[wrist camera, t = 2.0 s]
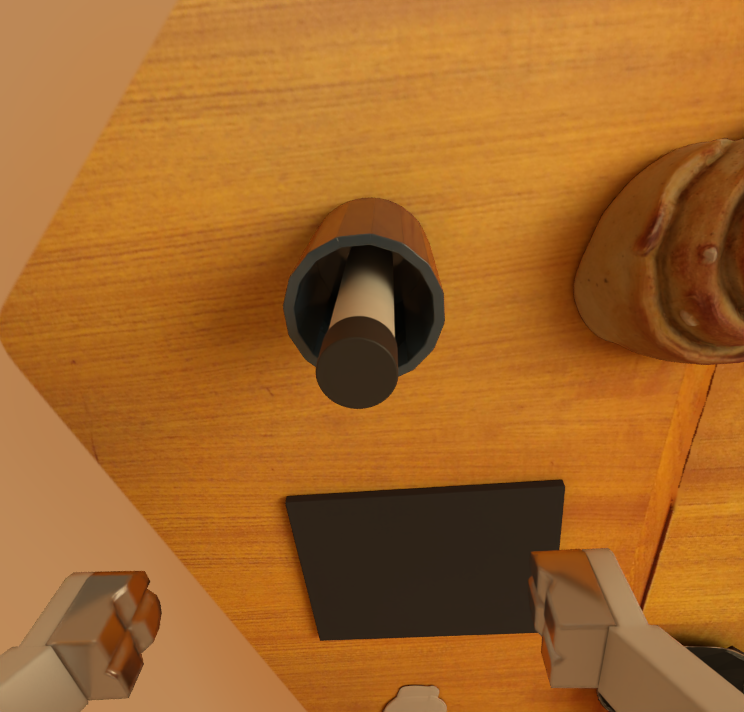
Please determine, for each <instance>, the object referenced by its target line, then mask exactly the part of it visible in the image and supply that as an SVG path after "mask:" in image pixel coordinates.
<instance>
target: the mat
mask: <svg viewBox="0 0 744 712" xmlns="http://www.w3.org/2000/svg"><path fill="white" fill-rule="evenodd" d="M564 493H565V485H564V483H563V481H562V480H548V481H532V482H515V483H498V484H482V485H465V486H449V487H432V488H415V489H399V490H382V491H365V492H349V493H332V494H316V495H299V496H287V498H286V502H285V504H286V508H287V512H288V516H289V520H290V524H291V528H292V532H293V536H294V540H295V544H296V548H297V551H298V555H299V559H300V563H301V567H302V571H303V575H304V579H305V583H306V587H307V591H308V595H309V599H310V603H311V607H312V610H313V614H314V618H315V622H316V626H317V630H318V634H319V638H320V641H324V640H352V639H379V638H406V637H434V636H461V635H488V634H516V633H538V632H537V631H536V630H535V628H534V624H533V620H532V616H531V611H530V606H529V597H528V579H529V578H530V577H531V576H532V573H531V570H530V566H529V558H530V554H531V552H537V551H553V550H559V546H560V535H561V525H562V514H563V504H564Z"/></svg>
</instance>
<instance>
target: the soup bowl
mask: <svg viewBox="0 0 744 712" xmlns="http://www.w3.org/2000/svg"><path fill="white" fill-rule="evenodd" d="M684 647H685V648H687V649H688V650H689V651H690V652H692V653H693V654H694V655H695V656H697V657H698V658H699V659H700V660H702V661H703V662H704V663H705V664H707V665H708V666H709V667H710V668H712V669H713V670H714V671H715V672H717V673H718V674H719V675H720V676H722V677H723V678H724V679H725V680H727V681H728V682H729V683H730V684H732V685H733V686H734V687H735V688H737V689H738V690H739V691H740V692H742V693H743V694H744V653H743V652H742V651H740V650H738V649H737V648H735V647H733V646H730V647H728V648H726V649H725V648H718V647H707V646H684ZM597 696H598V698H599V699H598V700H599V701H600V703H601V704H602V706H603V707H604V708H605V709H606V710H609V711H610V712H616V711H615V710H614V709H613V708H612V706H611V705H610V704H609V703H608V702H607V701H606V700H605V698H604V697H603V696H602V695H601V694H600V693H599V692H598V688H597Z"/></svg>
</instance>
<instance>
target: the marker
mask: <svg viewBox="0 0 744 712" xmlns="http://www.w3.org/2000/svg"><path fill="white" fill-rule="evenodd" d="M316 378H317V382H318V384H319V386H320V388H321V390H322V391H323V393H324V394H325V395H326V396H327V397H328V398H329V399H330V400H332V401H333V402H335V403H337V404H339V405H341V406H344V407H347V408H353V409H363V408H369V407H372V406H375V405H377V404H379V403H381V402H383V401H384V400H385V399H386V398H388V397H389V396H390V394H391V393H392V392H393V390H394V389H395V387H396V384H397V381H398V348H397V343H396V340H395V328H394V282H393V257H392V254H391V251H389V250H386V249H383V248H379V247H376V246H373V245H363V246H353V247H352V249H351V250H350V252H349V255H348V258H347V262H346V266H345V269H344V273H343V277H342V281H341V284H340V288H339V292H338V296H337V300H336V303H335V307H334V311H333V315H332V318H331V322H330V326H329V330H328V331H327V333H326V335H325V336H324V339H323V342H322V346H321V350H320V353H319V357H318V360H317V365H316Z"/></svg>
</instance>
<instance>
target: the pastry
mask: <svg viewBox="0 0 744 712" xmlns="http://www.w3.org/2000/svg"><path fill="white" fill-rule="evenodd" d="M574 298H575V302H576V305H577V308H578V311H579V313H580V315H581V317H582V319H583V321H584V322H585V324H586V325H587V326H588V327H589V328H590V330H591V331H592V332H594V333H595V334H596V335H597V336H599V337H600V338H602V339H604V340H606V341H610V342H614V343H617V344H619V345H621V346H623V347H625V348H627V349H628V350H630V351H633V352H636V353H638V354H642V355H645V356H649V357H652V358H656V359H660V360H665V361H670V362H680V363H690V364H701V365H711V364H728V363H740V362H744V138H743V139H740V140H737V141H735V140H730V139H728V138H723V139H718V140H714V141H711V142H701V143H696V144H692V145H687V146H685V147H682V148H679V149H677V150H674V151H672V152H670V153H668V154H667V155H665V156H663V157H662V158H660V159H659V160H657V161H656V162H654V163H653V164H651V165H650V166H648V167H647V168H645V169H644V170H643V171H642V172H640V173H639V174H638V175H637V176H636V177H634V178H633V179H632V180H631V181H630V182H629V183H628V184H627V185H626V186H625V187H624V188H623V190H622V191H621V192H620V193H619V194H618V196H617V197H616V198H615V199H614V200H613V202H612V203H611V204H610V205H609V207H608V208H607V209H606V211H605V212H604V213H603V215H602V216H601V218H600V220H599V222H598V224H597V226H596V229H595V231H594V234H593V236H592V238H591V240H590V242H589V244H588V246H587V249H586V251H585V253H584V255H583V257H582V259H581V262H580V265H579V267H578V270H577V273H576V276H575V280H574Z"/></svg>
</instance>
